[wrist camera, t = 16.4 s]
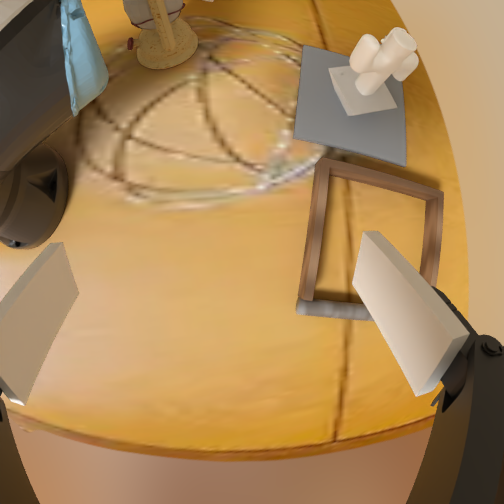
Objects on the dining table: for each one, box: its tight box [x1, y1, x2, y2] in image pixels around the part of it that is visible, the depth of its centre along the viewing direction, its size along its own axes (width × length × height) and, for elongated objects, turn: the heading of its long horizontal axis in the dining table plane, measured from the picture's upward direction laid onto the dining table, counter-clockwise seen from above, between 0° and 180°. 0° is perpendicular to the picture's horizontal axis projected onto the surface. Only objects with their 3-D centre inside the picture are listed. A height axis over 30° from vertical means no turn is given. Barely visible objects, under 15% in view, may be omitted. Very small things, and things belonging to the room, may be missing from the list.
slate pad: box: [293, 45, 406, 167], centre depth 34 cm, size 16×16×1 cm
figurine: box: [328, 27, 419, 116], centre depth 26 cm, size 7×9×15 cm
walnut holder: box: [296, 157, 444, 321], centre depth 33 cm, size 18×18×3 cm
